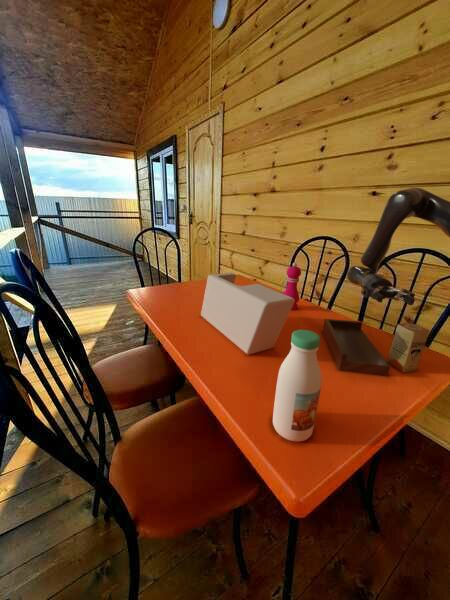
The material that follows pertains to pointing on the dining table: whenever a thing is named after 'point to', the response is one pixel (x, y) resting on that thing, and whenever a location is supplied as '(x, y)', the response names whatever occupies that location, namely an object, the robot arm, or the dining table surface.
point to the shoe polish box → (407, 346)
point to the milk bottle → (298, 388)
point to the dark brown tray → (353, 348)
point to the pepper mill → (293, 283)
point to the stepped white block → (245, 312)
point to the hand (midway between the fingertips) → (396, 300)
